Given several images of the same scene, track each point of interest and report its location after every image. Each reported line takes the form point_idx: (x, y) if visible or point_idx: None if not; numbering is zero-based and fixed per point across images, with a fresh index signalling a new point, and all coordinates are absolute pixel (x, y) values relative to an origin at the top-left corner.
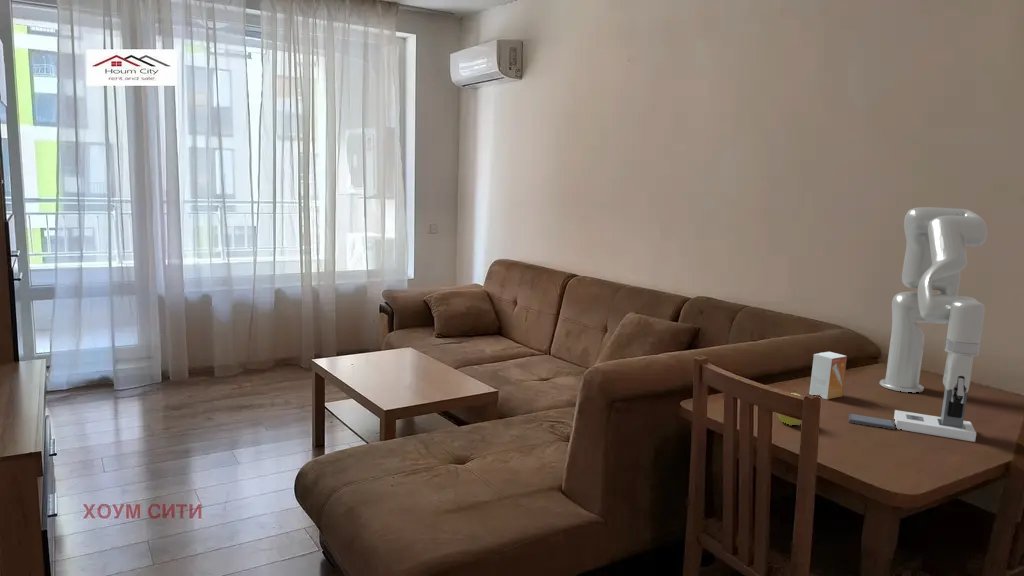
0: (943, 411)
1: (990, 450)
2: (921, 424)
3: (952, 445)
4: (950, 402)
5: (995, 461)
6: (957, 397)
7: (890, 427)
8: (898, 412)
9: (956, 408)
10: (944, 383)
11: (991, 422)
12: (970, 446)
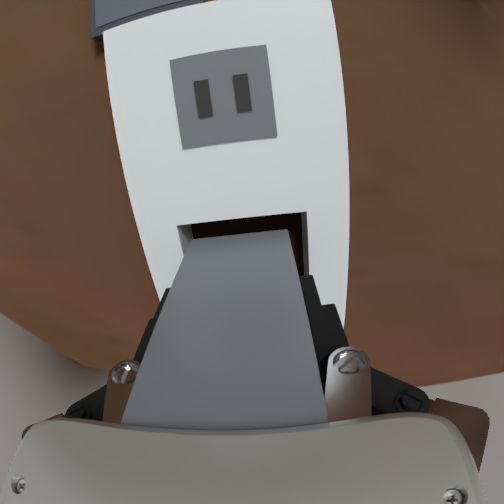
0: (216, 272)
1: (134, 351)
2: (118, 143)
3: (81, 259)
4: (143, 356)
5: (58, 345)
6: (62, 417)
7: (93, 24)
8: (284, 7)
9: None
10: (211, 462)
11: (449, 351)
12: (121, 308)
